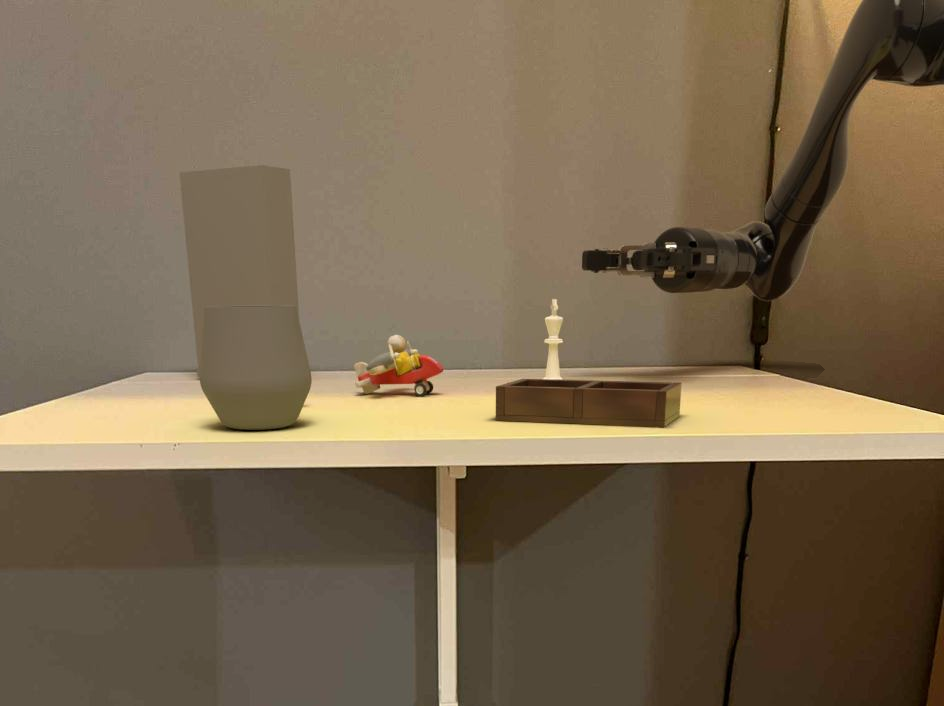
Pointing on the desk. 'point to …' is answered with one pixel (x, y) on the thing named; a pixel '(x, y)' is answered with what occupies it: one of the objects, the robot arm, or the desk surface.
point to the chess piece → (553, 342)
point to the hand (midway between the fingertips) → (613, 259)
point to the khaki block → (238, 239)
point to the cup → (254, 365)
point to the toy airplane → (398, 368)
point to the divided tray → (589, 402)
